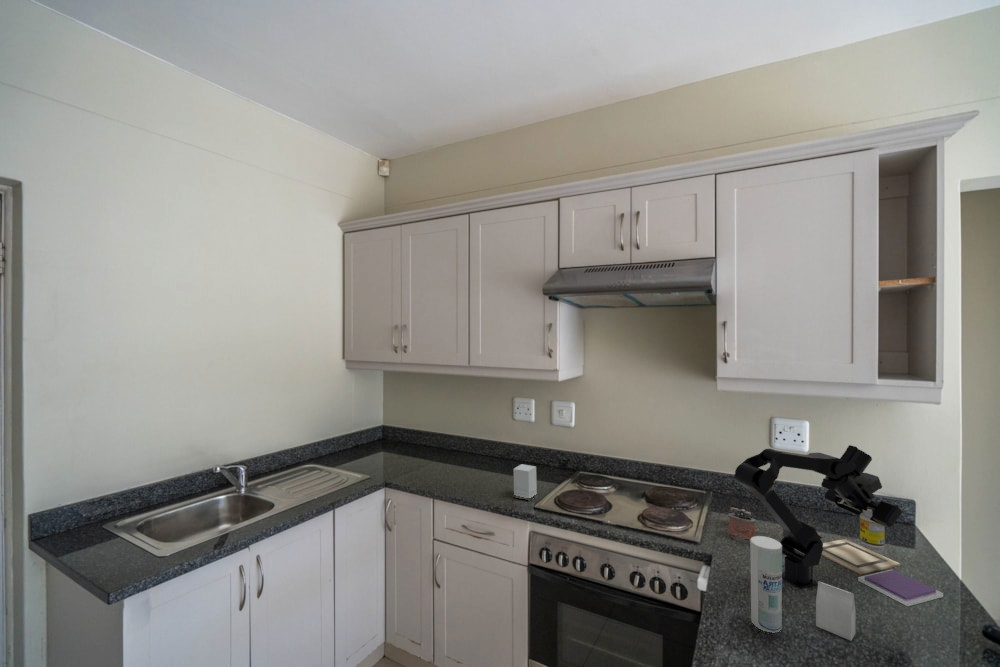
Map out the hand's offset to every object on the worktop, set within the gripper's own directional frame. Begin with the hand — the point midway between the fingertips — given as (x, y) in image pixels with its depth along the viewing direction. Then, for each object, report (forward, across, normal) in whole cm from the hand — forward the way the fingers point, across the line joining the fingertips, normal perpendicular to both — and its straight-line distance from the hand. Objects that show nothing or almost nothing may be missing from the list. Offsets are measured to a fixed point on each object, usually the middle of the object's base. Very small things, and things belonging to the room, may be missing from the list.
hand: (876, 521), depth 132 cm
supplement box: (-50, +78, +70) cm, 115 cm away
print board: (+9, +6, +10) cm, 15 cm away
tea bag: (-16, -19, +36) cm, 43 cm away
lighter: (-8, +24, +28) cm, 37 cm away
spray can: (-26, -14, +46) cm, 54 cm away
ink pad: (+6, -10, +13) cm, 17 cm away
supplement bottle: (+3, 0, +6) cm, 7 cm away
